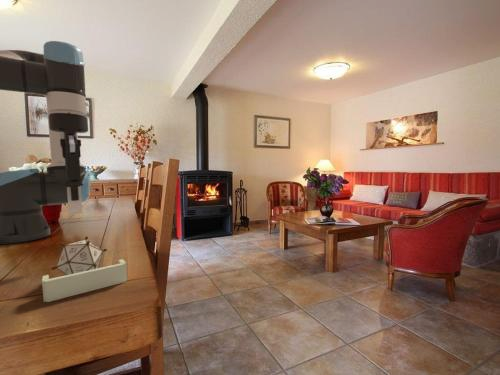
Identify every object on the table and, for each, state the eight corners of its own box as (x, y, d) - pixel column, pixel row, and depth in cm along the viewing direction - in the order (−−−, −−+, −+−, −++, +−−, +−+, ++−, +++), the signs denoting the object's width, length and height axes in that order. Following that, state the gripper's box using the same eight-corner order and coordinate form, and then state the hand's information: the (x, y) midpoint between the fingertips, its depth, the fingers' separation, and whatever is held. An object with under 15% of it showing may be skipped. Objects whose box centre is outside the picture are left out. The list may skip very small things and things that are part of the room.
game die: (84, 291, 55) (95, 246, 60) (108, 283, 51) (118, 236, 57) (35, 285, 48) (53, 235, 54) (60, 275, 45) (76, 222, 50)
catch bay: (44, 295, 45) (42, 275, 45) (123, 275, 53) (122, 259, 53) (43, 303, 43) (41, 282, 42) (127, 281, 50) (126, 263, 50)
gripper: (90, 111, 58) (96, 215, 60) (84, 119, 68) (90, 208, 71) (47, 107, 53) (56, 220, 56) (48, 117, 64) (56, 211, 66)
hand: (75, 213), depth 63 cm, fingers closed
